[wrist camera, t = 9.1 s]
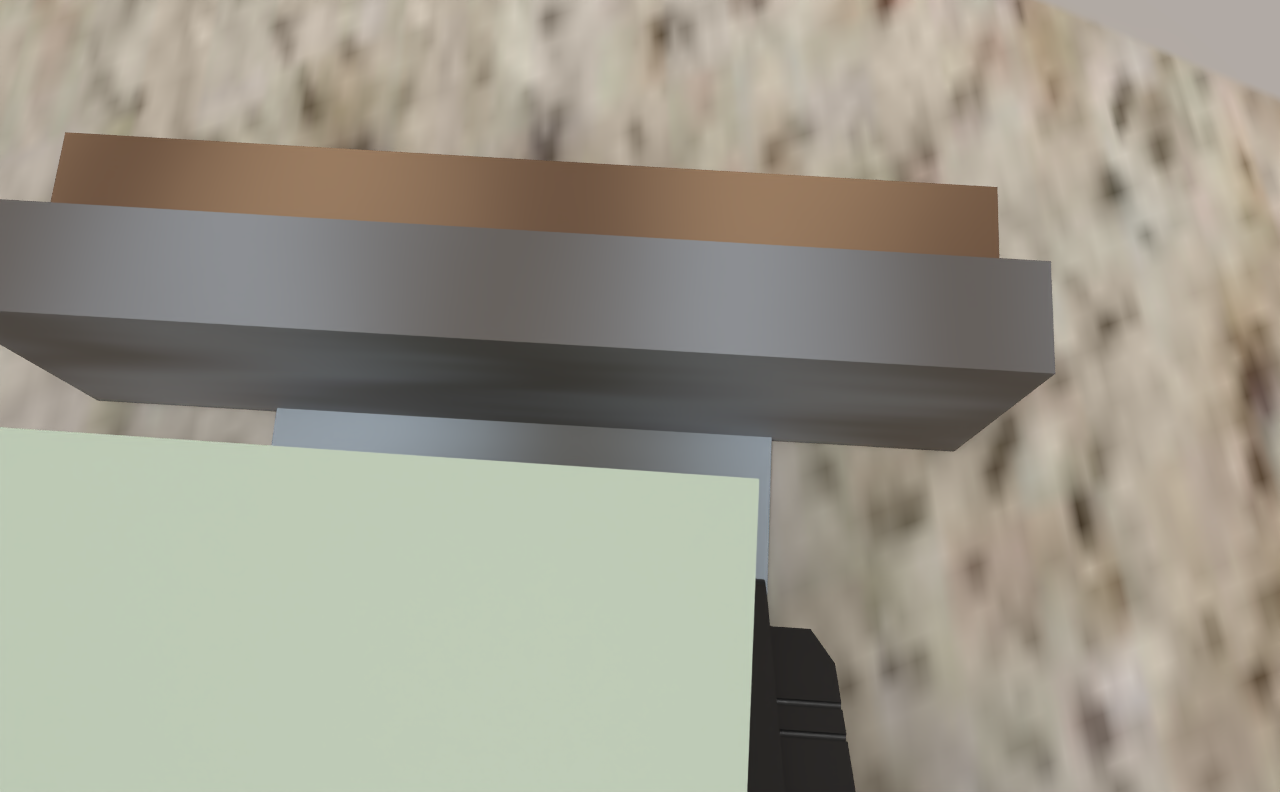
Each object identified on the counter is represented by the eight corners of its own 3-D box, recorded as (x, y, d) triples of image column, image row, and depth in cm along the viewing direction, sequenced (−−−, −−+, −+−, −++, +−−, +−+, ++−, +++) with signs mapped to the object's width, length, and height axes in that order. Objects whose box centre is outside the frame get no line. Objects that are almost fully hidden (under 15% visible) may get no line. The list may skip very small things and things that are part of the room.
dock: (9, 858, 17) (-207, 913, 12) (135, 203, 19) (-7, 59, 15) (961, 916, 17) (1080, 993, 12) (950, 251, 19) (1045, 120, 15)
